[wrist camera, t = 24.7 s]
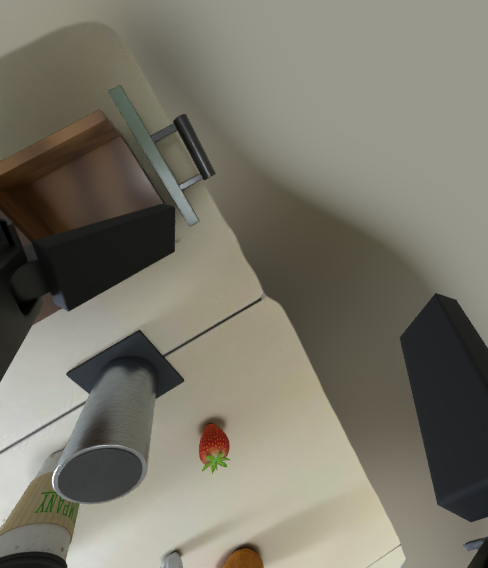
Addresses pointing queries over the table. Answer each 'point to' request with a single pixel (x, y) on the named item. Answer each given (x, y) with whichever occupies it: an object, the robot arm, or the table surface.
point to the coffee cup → (39, 524)
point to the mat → (128, 347)
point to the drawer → (94, 173)
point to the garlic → (172, 561)
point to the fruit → (213, 447)
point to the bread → (243, 559)
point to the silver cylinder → (110, 435)
